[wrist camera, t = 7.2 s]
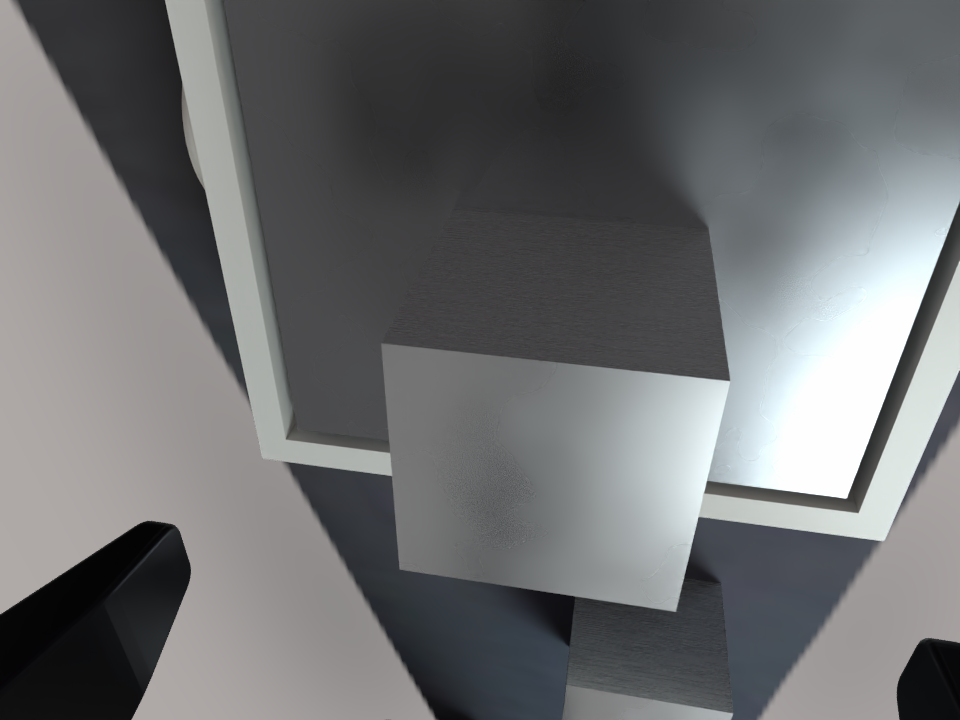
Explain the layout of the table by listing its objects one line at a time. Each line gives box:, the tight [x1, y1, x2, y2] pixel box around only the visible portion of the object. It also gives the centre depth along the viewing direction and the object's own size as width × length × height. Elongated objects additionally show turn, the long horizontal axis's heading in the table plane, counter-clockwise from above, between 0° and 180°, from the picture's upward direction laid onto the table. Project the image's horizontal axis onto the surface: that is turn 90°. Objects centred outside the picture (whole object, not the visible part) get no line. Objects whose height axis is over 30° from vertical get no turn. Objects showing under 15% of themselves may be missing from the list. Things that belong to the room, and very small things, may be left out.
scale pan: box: [224, 0, 960, 498], centre depth 13 cm, size 13×12×1 cm
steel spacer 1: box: [381, 209, 730, 612], centre depth 13 cm, size 4×4×4 cm
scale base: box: [165, 0, 960, 541], centre depth 15 cm, size 15×14×4 cm
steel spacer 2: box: [562, 578, 733, 720], centre depth 24 cm, size 4×4×4 cm
